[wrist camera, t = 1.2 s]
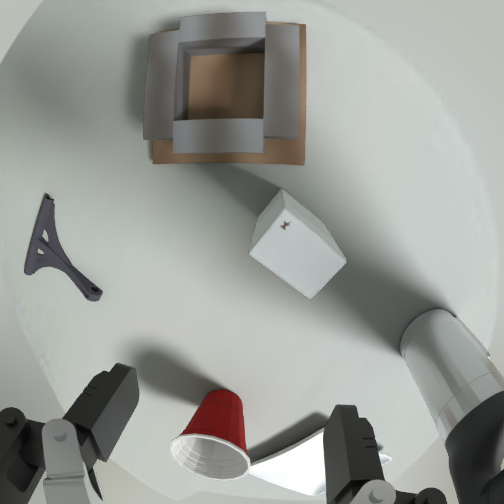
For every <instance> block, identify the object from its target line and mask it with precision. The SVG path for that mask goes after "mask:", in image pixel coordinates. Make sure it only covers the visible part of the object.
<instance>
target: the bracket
mask: <svg viewBox="0 0 504 504" xmlns="http://www.w3.org/2000/svg"><path fill="white" fill-rule="evenodd" d="M48 197H49V195H48V194H46V195H45V196H44V199H43V202H42V205H41V208H40V211H39V214H38V218H37V221H36V224H35V228H34V231H33V235H32V239H31V242H30V246H29V250H28V255H27V259H26V264H25V268H24V273H25V274H26V275H32V274H34V273H35V272H36V271H37V270H38V269H40V268H42V267H49V266H50V267H54V268H57V269H59V270H61V271H63V272H65V273H66V274H67V275H68V276H69V277H70V278H71V280H72V281H73V282H74V283H75V285H76V286H77V287H78V288H79V290H80V291H81V292H82V293H83V295H84V297H85V298H86V299H87V300H89V301H98V300H99V299H100V297H101V295H102V292H103V291H102V290H101V289H99V288H98V287H97V286H96V285H95V284H93V283H92V282H91V281H90V280H89V279H87V278H86V277H85V276H84V275H83V274H82V273H80V272H79V271H78V270H77V269H76V268H75V267H74V266H72V265H71V262H70V261H69V259H68V258H67V256H66V255H65V253H64V251H63V249H62V247H61V245H60V243H59V240H58V236H57V233H56V228H55V219H54V206H55V205H54V203H53V201H54V199H52V200H50V199H48ZM44 229H45V230H46V232H47V234H48V239H49V243H47V242H46V241H45V239H44V238H43V237H42V234H43V231H44ZM38 248H39V249H40V250H42V251H43V252H44V253H45V254H44V255H40V254H38V253H37V251H38ZM93 289H95V290H97V292H96V291H95V290H93Z"/></svg>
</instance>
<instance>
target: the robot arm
mask: <svg viewBox="0 0 504 504" xmlns="http://www.w3.org/2000/svg"><path fill="white" fill-rule="evenodd" d="M400 351H401V354H402V356H403V358H404V360H405V362H406V364H407V366H408V368H409V370H410V372H411V374H412V376H413V378H414V380H415V382H416V384H417V386H418V388H419V390H420V392H421V394H422V396H423V399H424V401H425V403H426V405H427V407H428V409H429V411H430V414H431V416H432V418H433V420H434V422H435V425H436V427H437V429H438V431H439V433H440V436H441V438H442V440H443V443H444V445H445V447H446V450H447V453H448V456H449V469H450V474H451V477H452V480H453V483H454V487H455V490H456V493H457V498H458V501H459V504H504V469H503V470H502V471H501V464H502V460H503V457H504V377H503V376H502V374H501V373H500V372H499V371H498V369H497V368H496V367H495V365H494V364H493V363H492V362H491V360H490V359H489V358H490V354H489V352H488V351H487V349H486V348H485V347H484V346H483V345H482V344H481V342H480V341H479V340H478V339H477V338H476V337H475V335H474V334H473V333H472V332H471V331H470V330H469V329H468V328H467V327H466V325H465V324H464V323H463V322H462V321H461V320H460V319H459V318H458V317H453V316H452V315H451V314H450V313H449V312H448V311H446V310H443V309H433V310H429V311H427V312H425V313H423V314H421V315H420V316H418V317H417V318H416V319H415V320H413V321H412V322H411V323H410V325H409V326H408V327H407V329H406V330H405V332H404V333H403V336H402V338H401V342H400ZM138 401H139V387H138V381H137V374H136V369H135V368H133V367H130V366H127V365H124V364H121V363H116V364H115V365H114V367H113V368H112V369H111V371H110V372H107V371H103V372H101V373H99V374H97V375H96V376H94V377H93V379H92V380H91V381H90V383H89V384H88V386H86V388H85V389H84V390H83V393H81V394H80V396H79V397H78V398H77V400H76V401H75V402H74V404H73V405H72V406H71V408H70V409H69V410H68V412H67V413H66V414H65V416H64V417H63V418H62V419H53V420H50V421H48V422H47V423H41V422H36V421H32V420H28V419H26V418H25V416H24V414H23V413H22V412H21V411H20V410H19V409H17V408H13V407H10V408H6V409H3V410H2V411H1V412H0V504H28V502H29V500H30V498H31V496H32V494H33V492H34V490H35V488H36V486H37V484H38V483H39V481H40V479H41V477H42V475H43V473H44V471H45V470H46V472H47V478H46V479H44V480H43V487H44V492H45V496H46V502H47V504H106V502H105V499H104V496H103V493H102V490H101V487H100V484H99V480H98V477H97V473H96V470H95V467H94V464H95V462H96V460H97V459H99V460H102V461H104V462H107V460H108V458H109V456H110V454H111V452H112V450H113V449H114V447H115V445H116V443H117V441H118V439H119V437H120V436H121V434H122V432H123V430H124V428H125V426H126V425H127V423H128V421H129V419H130V417H131V415H132V414H133V412H134V410H135V408H136V406H137V404H138ZM323 450H324V464H325V479H326V498H327V504H447V501H446V497H445V495H444V494H443V493H442V492H441V491H440V490H438V489H436V488H426V489H424V490H422V491H421V492H419V493H418V494H414V493H407V492H400V491H397V490H395V489H394V487H393V486H392V485H391V484H390V483H388V482H386V481H385V479H384V475H383V470H382V466H381V461H380V457H379V452H378V448H377V444H376V440H375V435H374V431H373V427H372V426H371V424H370V423H369V422H368V420H367V419H366V418H359V416H358V412H357V408H356V406H355V405H336V406H335V408H334V410H333V412H332V414H331V416H330V418H329V420H328V422H327V424H326V426H325V428H324V432H323Z"/></svg>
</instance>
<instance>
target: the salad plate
mask: <svg viewBox="0 0 504 504" xmlns="http://www.w3.org/2000/svg"><path fill="white" fill-rule="evenodd" d="M323 432H324V428H322V429H320V430H318V431H317V432H315V433H313V434H312V435H310V436H308V437H306V438H305V439H303V440H301V441H299V442H297V443H295V444H293V445H291V446H289V447H287V448H285V449H283V450H281V451H279V452H277V453H274V454H272V455H270V456H268V457H265V458H263V459H260V460H258V461H255V462H253V463H251V464H250V465H251V470H250V471H249V472H248V473H249V474H251V475H254V476H256V477H258V478H261V479H263V480H266V481H268V482H271V483H273V484H276V485H279V486H282V487H285V488H288V489H291V490H294V491H297V492H300V493H303V494H307V495H311V496H315V495H318V494H321V493H324V492H326V479H325V464H324V450H323ZM378 452H379V457H380V461H381V466H383V465H384V464H386V463H388V462H389V461H391V460H392V457H391V456H390V455H388V454H386V453H383V452H380V451H378Z"/></svg>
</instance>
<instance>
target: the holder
mask: <svg viewBox="0 0 504 504" xmlns="http://www.w3.org/2000/svg"><path fill="white" fill-rule="evenodd" d="M305 132H306V24H292V23H267V19H266V12H233V13H217V14H206V15H197V16H189V17H182V18H181V19H180V28H179V29H172V30H166V31H160V33H157V34H152V35H150V41H149V50H148V60H147V71H146V84H145V100H144V125H143V139H145V140H153V164H168V163H268V164H290V165H304V161H305Z"/></svg>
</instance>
